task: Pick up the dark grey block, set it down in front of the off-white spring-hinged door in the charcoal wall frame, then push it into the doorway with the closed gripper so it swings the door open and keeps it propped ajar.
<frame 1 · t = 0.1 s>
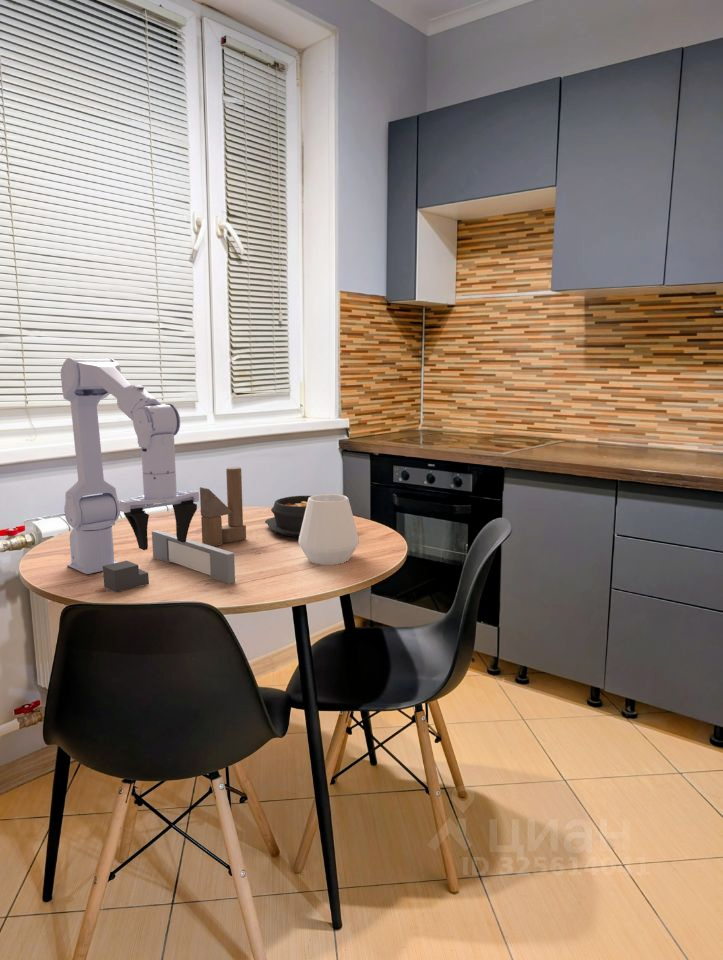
hand: (162, 545, 123), 10 cm above the table, fingers open, 7 cm apart
door: (191, 556, 142), point 3 cm above the table, hinge at 0.0°
wooden block: (224, 543, 164), on the table
wall frame: (191, 568, 142), on the table
white faceted vase: (328, 559, 150), on the table
dark grey block: (126, 586, 131), on the table
casserole: (304, 533, 174), on the table
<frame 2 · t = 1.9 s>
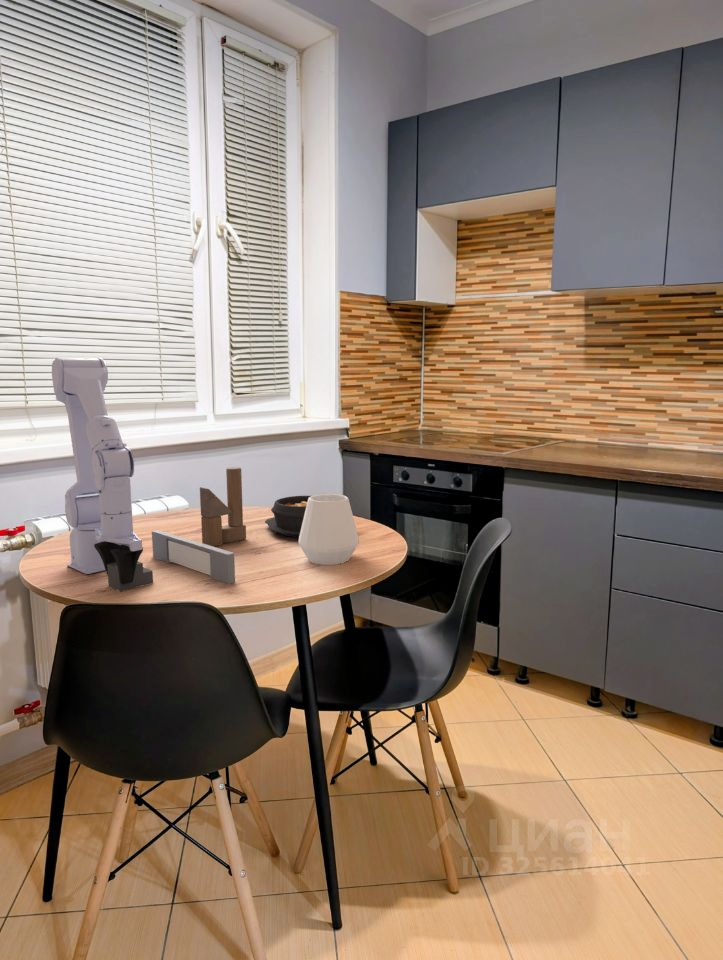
hand: (120, 580, 130), 1 cm above the table, fingers closed on dark grey block, 4 cm apart
dark grey block: (131, 584, 132), on the table, touching gripper
everything else where it was.
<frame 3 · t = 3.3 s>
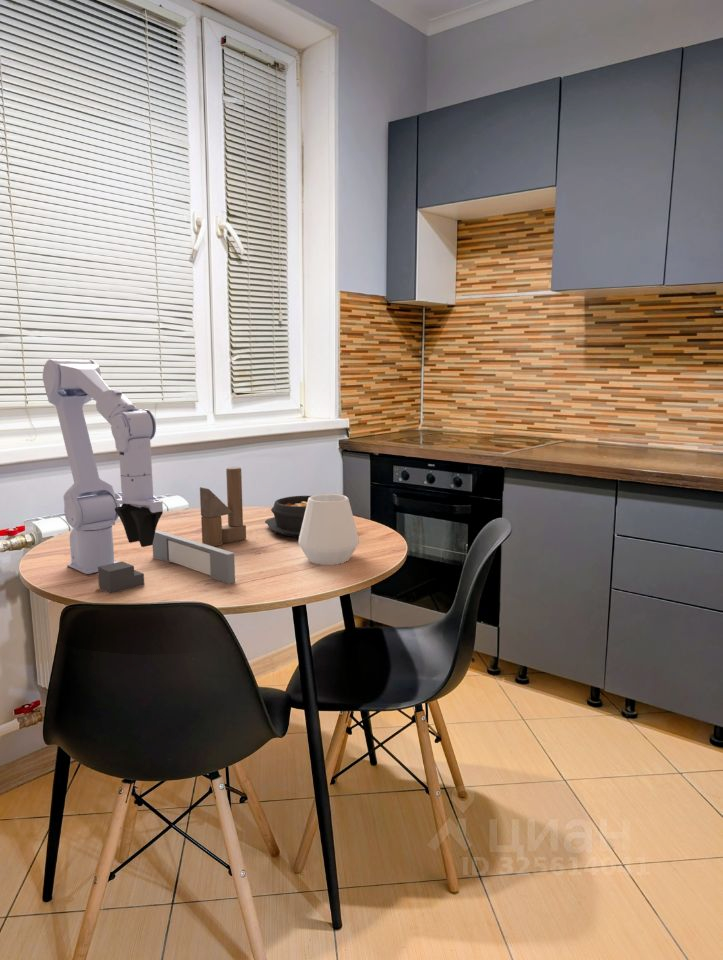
hand: (140, 543, 130), 8 cm above the table, fingers open, 4 cm apart
dark grey block: (122, 587, 131), on the table
everything else where it was.
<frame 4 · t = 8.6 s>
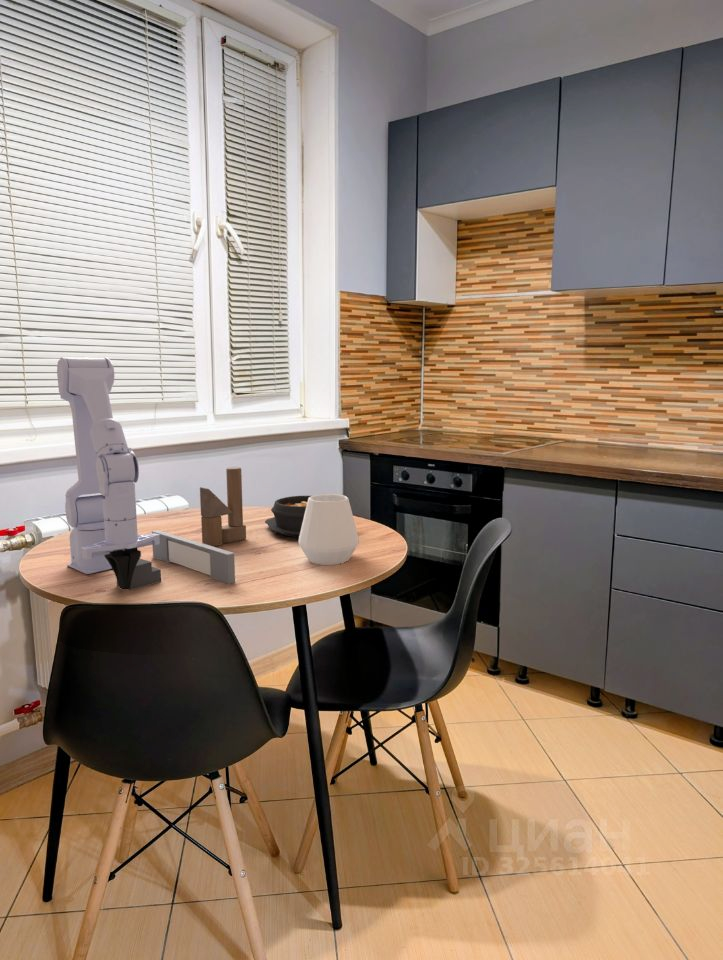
hand: (124, 588, 127), 1 cm above the table, fingers closed
dark grey block: (139, 583, 133), on the table, touching gripper
everything else where it was.
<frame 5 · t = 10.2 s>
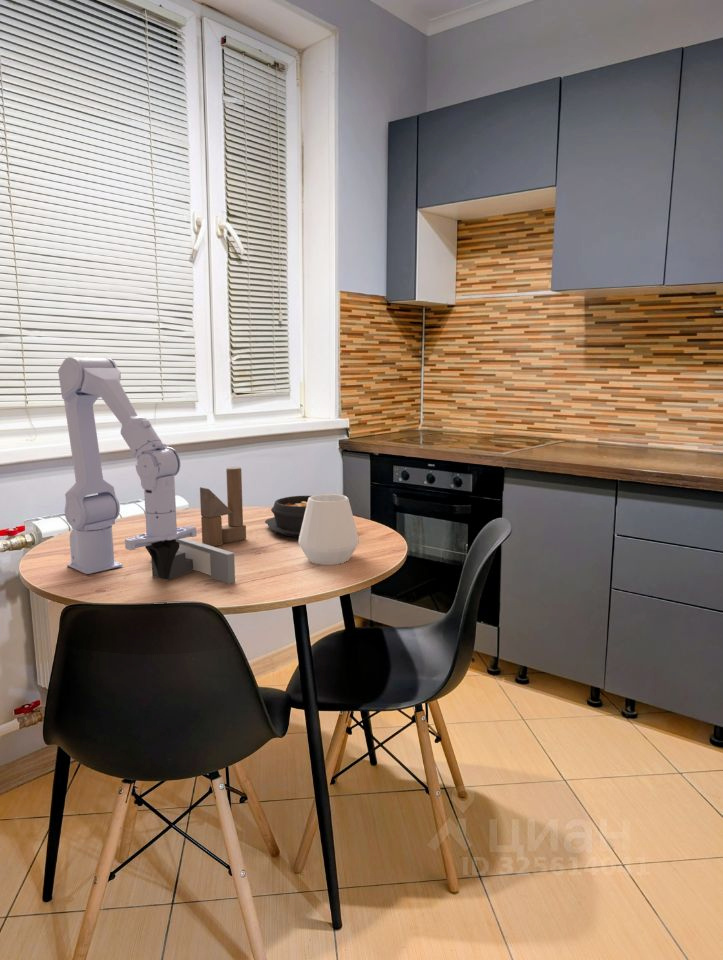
hand: (164, 578, 133), 1 cm above the table, fingers closed
door: (191, 556, 142), point 3 cm above the table, hinge at 0.4°, touching dark grey block
dark grey block: (172, 573, 139), on the table, touching door, gripper
everything else where it was.
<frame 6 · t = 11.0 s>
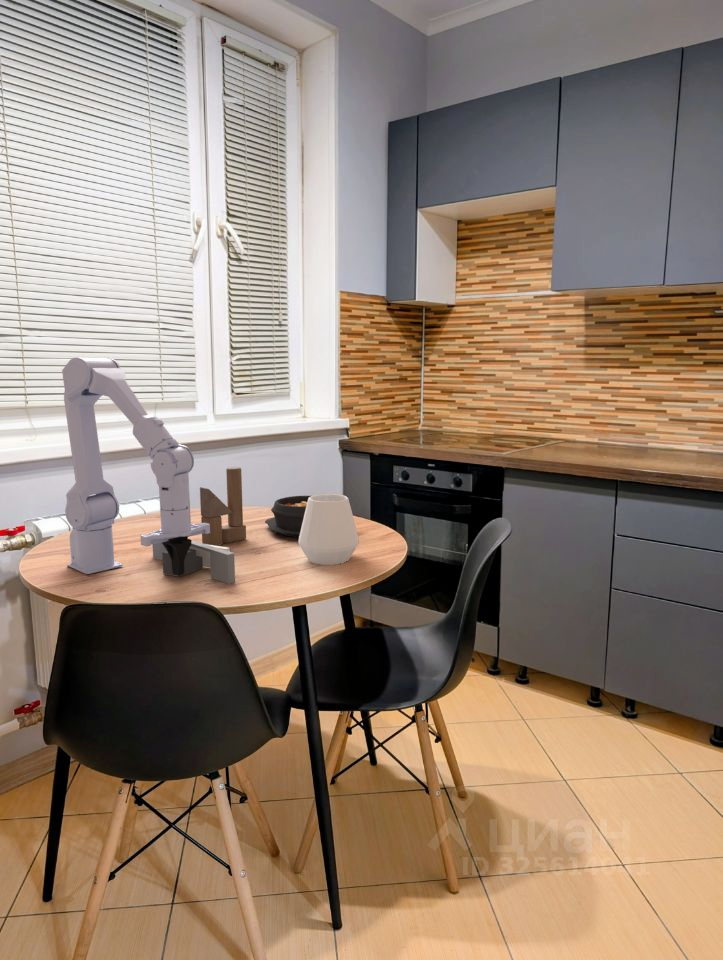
hand: (178, 574, 135), 1 cm above the table, fingers closed
door: (199, 554, 143), point 3 cm above the table, hinge at 15.6°, touching dark grey block
dark grey block: (183, 570, 140), on the table, touching door, gripper
everything else where it was.
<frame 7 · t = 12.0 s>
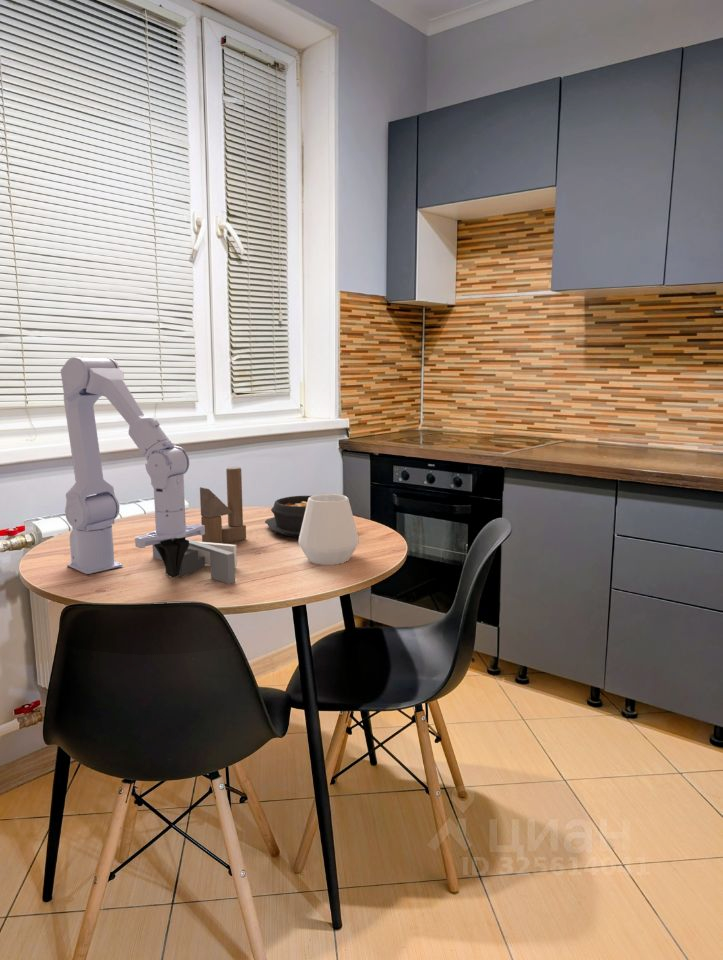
hand: (173, 575, 134), 1 cm above the table, fingers closed
door: (203, 553, 144), point 3 cm above the table, hinge at 24.9°
dark grey block: (185, 571, 141), on the table
everything else where it was.
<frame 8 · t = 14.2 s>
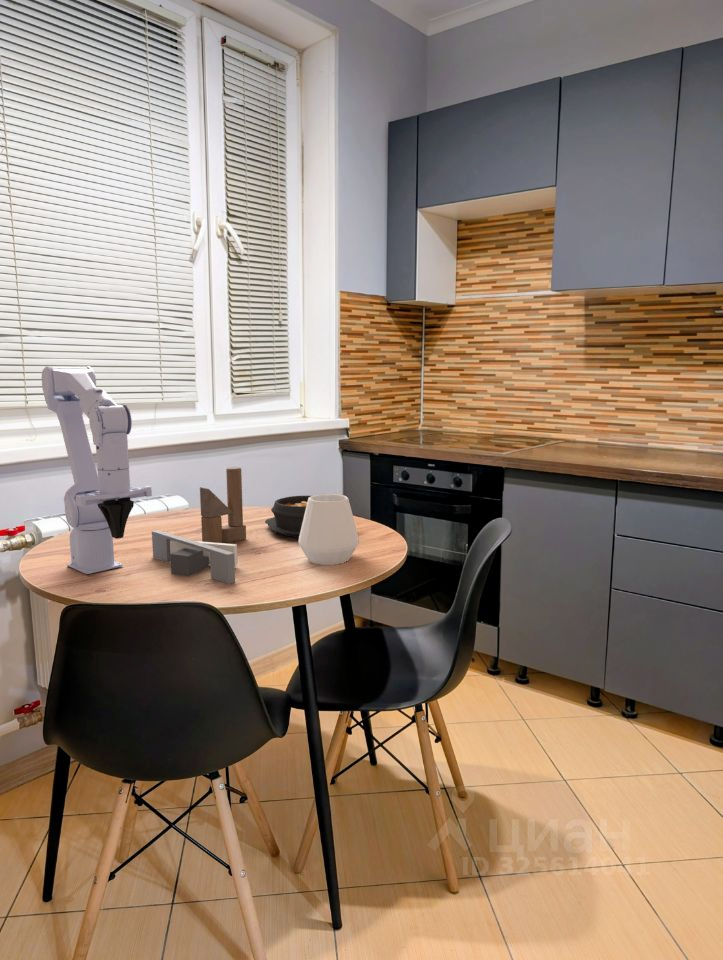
hand: (117, 537, 131), 9 cm above the table, fingers closed
door: (203, 552, 145), point 3 cm above the table, hinge at 26.1°
at the end: door at +26° (first picture: +0°); dark grey block inside the target area (3.3 cm from its centre), on the table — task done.
